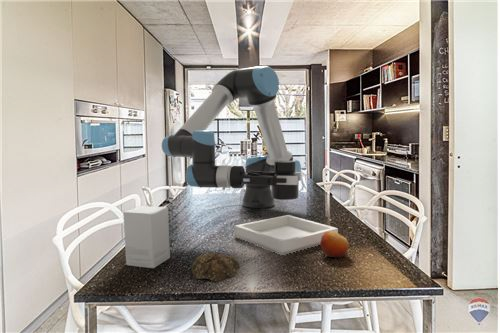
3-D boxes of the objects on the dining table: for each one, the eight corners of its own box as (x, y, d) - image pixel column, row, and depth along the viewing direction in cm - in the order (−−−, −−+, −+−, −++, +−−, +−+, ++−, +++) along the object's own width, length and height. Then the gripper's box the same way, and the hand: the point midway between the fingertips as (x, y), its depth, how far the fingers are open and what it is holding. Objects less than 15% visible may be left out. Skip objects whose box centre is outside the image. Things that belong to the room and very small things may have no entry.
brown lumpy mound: (196, 263, 106) (196, 245, 105) (241, 264, 105) (240, 246, 104) (184, 282, 93) (184, 262, 93) (234, 283, 92) (234, 263, 92)
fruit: (310, 247, 113) (324, 224, 113) (333, 259, 114) (346, 236, 114) (318, 256, 105) (332, 231, 105) (341, 269, 106) (356, 245, 106)
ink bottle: (297, 195, 129) (297, 160, 128) (302, 200, 121) (302, 162, 119) (268, 195, 129) (268, 160, 128) (271, 200, 120) (271, 162, 119)
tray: (287, 225, 143) (287, 214, 143) (337, 240, 124) (337, 228, 124) (235, 237, 129) (234, 225, 129) (282, 256, 110) (282, 242, 109)
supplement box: (171, 257, 110) (169, 206, 108) (153, 269, 101) (151, 213, 100) (144, 254, 113) (142, 204, 111) (124, 265, 104) (122, 211, 102)
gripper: (240, 183, 139) (302, 184, 134) (222, 193, 118) (295, 195, 113) (239, 162, 138) (302, 163, 133) (221, 169, 117) (295, 170, 112)
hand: (299, 178), depth 123 cm, fingers closed on ink bottle, 9 cm apart
